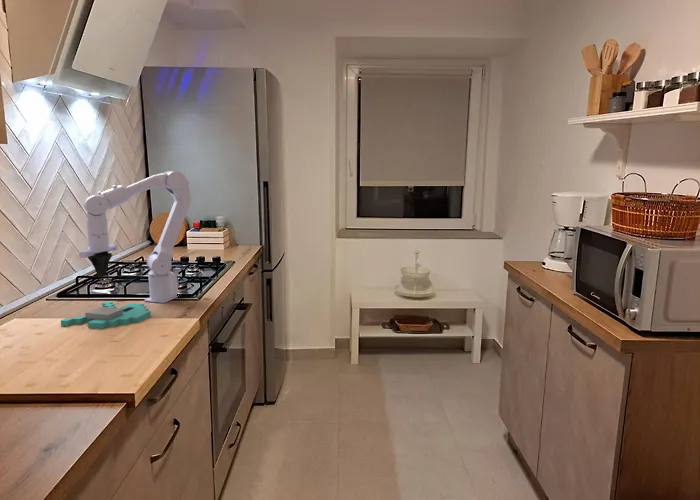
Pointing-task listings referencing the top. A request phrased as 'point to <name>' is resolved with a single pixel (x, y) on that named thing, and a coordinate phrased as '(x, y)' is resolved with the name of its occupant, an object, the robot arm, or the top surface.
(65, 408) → the top surface
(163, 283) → the robot arm
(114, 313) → the tile
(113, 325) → the alien figure
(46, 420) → the top surface
